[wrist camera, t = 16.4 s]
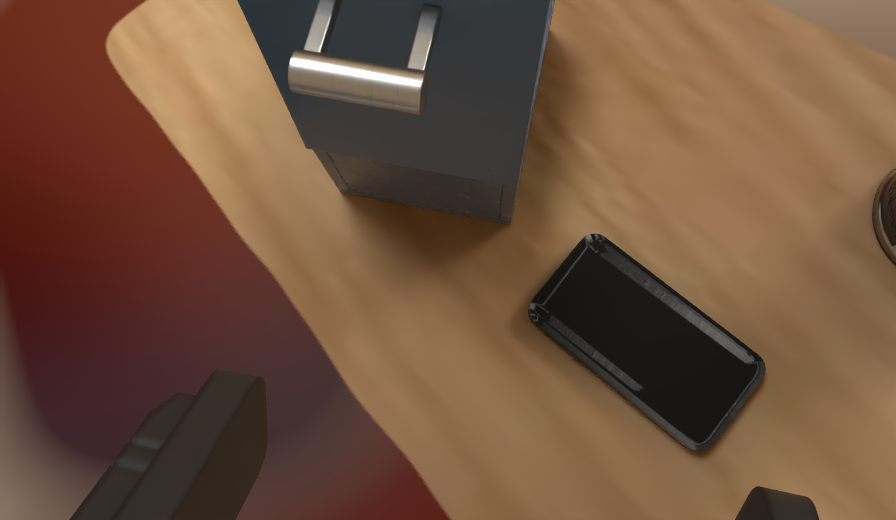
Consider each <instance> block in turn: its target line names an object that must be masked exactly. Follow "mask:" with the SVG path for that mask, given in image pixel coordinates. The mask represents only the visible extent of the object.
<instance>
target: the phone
mask: <svg viewBox="0 0 896 520" xmlns="http://www.w3.org/2000/svg"><path fill="white" fill-rule="evenodd" d="M528 314H529V317H530V320H531V321H532V322H533V323H534V325H536V326H537V327H538V328H539V329H541V330H542V331H543V332H544V333H545V334H547V335H548V336H549V337H550V338H552V339H553V340H554V341H555V342H557V344H558V345H560V346H561V347H562V348H563V349H565V350H566V351H567V352H569V353H570V354H571V355H572V356H573V357H574V358H575V359H577V360H578V361H579V362H580V363H582V364H584V365H585V366H586V367H587V368H589V369H590V370H591V371H592V372H594V373H595V374H596V375H597V376H599V377H600V378H601V379H602V380H603V381H605V382H606V383H607V384H608V385H610V386H611V387H612V388H613V389H615V390H616V391H617V392H618V393H619V394H621V395H622V396H623V397H624V398H626V399H627V400H628V401H629V402H631V403H632V404H633V405H634V406H635V407H637V408H638V409H639V410H640V411H642V412H643V413H644V414H645V415H647V416H648V417H649V418H650V419H651V420H653V421H654V422H655V423H656V424H658V425H659V426H660V427H661V428H663V429H664V430H665V431H666V432H668V433H669V434H670V435H671V436H672V437H674V438H675V439H676V440H677V441H679V442H680V443H681V444H682V445H684V446H685V447H687V448H689V449H693V450H698V451H703V450H707V449H709V448H710V447H711V446H713V445H714V443H715V442H716V441H717V439H718V438H719V437H720V435H721V434H722V433H723V431H724V430H725V429H726V427H727V426H728V425H729V423H730V422H731V421H732V419H733V418H734V417H735V415H736V414H737V413H738V411H739V410H740V409H741V407H742V406H743V405H744V403H745V402H746V401H747V399H748V398H749V397H750V395H751V394H752V393H753V391H754V390H755V389H756V387H757V386H758V385H759V383H760V382H761V381H762V379H763V377H764V375H765V370H766V368H765V363H764V361H763V360H762V358H761V357H760V356H759V355H758V354H757V353H755V352H754V351H753V350H752V349H750V348H749V347H748V346H746V345H745V344H744V343H742V342H741V341H740V340H739V339H737V338H736V337H735V336H733V335H732V334H731V333H729V332H728V331H727V330H726V329H724V328H723V327H722V326H720V325H719V324H718V323H716V322H715V321H714V320H712V319H711V318H710V317H709V316H707V315H706V314H705V313H703V312H702V311H701V310H699V309H698V308H697V307H696V306H694V305H693V304H692V303H690V302H689V301H688V300H686V299H685V298H684V297H683V296H681V295H680V294H679V293H677V292H676V291H675V290H673V289H672V288H671V287H670V286H668V285H667V284H666V283H664V282H663V281H662V280H660V279H659V278H658V277H656V276H655V275H654V274H653V273H651V272H650V271H649V270H647V269H646V268H645V267H643V266H642V265H641V264H640V263H638V262H637V261H636V260H634V259H633V258H632V257H630V256H629V255H628V254H627V253H625V252H624V251H623V250H621V249H620V248H619V247H617V246H616V245H615V244H614V243H612V242H611V241H610V240H608V239H607V238H606V237H604V236H602V235H600V234H589V235H587V236H585V237H584V238H583V239H582V240H581V241H580V242H579V243H578V245H577V246H576V247H575V248H574V249H573V251H572V252H571V253H570V254H569V256H568V257H567V258H566V259H565V260H564V262H563V263H562V264H561V265H560V267H559V268H558V269H557V270H556V271H555V273H554V274H553V275H552V276H551V277H550V279H549V280H548V281H547V282H546V284H545V285H544V286H543V287H542V288H541V290H540V291H539V292H538V293H537V295H536V296H535V297H534V298H533V300H532V301H531V303H530V305H529V309H528Z"/></svg>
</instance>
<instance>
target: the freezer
mask: <svg viewBox="0 0 896 520" xmlns="http://www.w3.org/2000/svg"><path fill="white" fill-rule="evenodd" d="M554 3H555V0H551V1H550V6H549V12H548V18H547V23H546V29H545V35H544V40H543V46H542V51H541V57H540V63H539V68H538V74H537V80H536V85H535V91H534V97H533V102H532V108H531V113H530V119H529V125H528V130H527V136H526V142H525V147H524V153H523V159H522V164H521V170H520V175H519V181H518V186H517V187H513V186H508V185H502V184H497V183H492V182H486V181H481V180H475V179H470V178H465V177H459V176H454V175H448V174H443V173H438V172H432V171H427V170H421V169H416V168H411V167H405V166H400V165H394V164H389V163H384V162H378V161H373V160H368V159H362V158H357V157H351V156H346V155H341V154H335V153H330V152H324V151H319V150H314V149H313V151H314V152H315V154H316V155H317V157H318V158H319V160H320V161H321V163H322V164H323V166H324V167H325V169H326V171H327V172H328V174H329V175H330V177H331V178H332V180H333V181H334V183H335V184H336V186H337V187H338V189H339V190H340V192H343V193H348V194H353V195H358V196H364V197H369V198H374V199H379V200H385V201H390V202H395V203H400V204H406V205H411V206H416V207H422V208H427V209H432V210H437V211H443V212H448V213H453V214H458V215H464V216H469V217H474V218H479V219H485V220H490V221H495V222H500V223H506V224H511V222H512V217H513V212H514V207H515V202H516V197H517V192H518V187H519V182H520V177H521V171H522V166H523V161H524V156H525V151H526V146H527V141H528V136H529V131H530V126H531V121H532V116H533V111H534V106H535V101H536V96H537V91H538V86H539V80H540V75H541V70H542V65H543V60H544V55H545V50H546V45H547V40H548V35H549V30H550V25H551V19H552V14H553V8H554Z"/></svg>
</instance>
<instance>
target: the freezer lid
mask: <svg viewBox="0 0 896 520" xmlns="http://www.w3.org/2000/svg"><path fill="white" fill-rule="evenodd" d="M550 1H551V0H238V3H239V5H240V7H241V9H242V11H243V13H244V15H245V18H246V20H247V22H248V24H249V26H250V28H251V30H252V33H253V35H254V37H255V39H256V41H257V43H258V46H259V48H260V50H261V52H262V54H263V56H264V58H265V61H266V63H267V65H268V67H269V69H270V71H271V73H272V76H273V78H274V80H275V82H276V84H277V86H278V89H279V91H280V93H281V95H282V97H283V99H284V101H285V104H286V106H287V108H288V110H289V112H290V114H291V116H292V119H293V121H294V123H295V125H296V127H297V129H298V131H299V134H300V136H301V138H302V140H303V142H304V144H305V147H306V148H308V149H314V150H319V151H324V152H330V153H335V154H341V155H346V156H351V157H357V158H362V159H368V160H373V161H378V162H384V163H389V164H394V165H400V166H405V167H411V168H416V169H421V170H427V171H432V172H438V173H443V174H448V175H454V176H459V177H465V178H470V179H475V180H481V181H486V182H492V183H497V184H502V185H508V186H513V187H517V186H518V181H519V175H520V170H521V164H522V159H523V153H524V147H525V142H526V136H527V130H528V125H529V119H530V113H531V108H532V102H533V97H534V91H535V85H536V80H537V74H538V68H539V63H540V57H541V51H542V46H543V40H544V35H545V29H546V23H547V18H548V12H549V6H550Z"/></svg>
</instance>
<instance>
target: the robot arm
mask: <svg viewBox="0 0 896 520" xmlns="http://www.w3.org/2000/svg"><path fill="white" fill-rule="evenodd" d="M873 221H874V227H875V231H876V234H877V237H878V239H879V241H880V243H881V245H882V247H883V248H884V250H885V251H886V253H887V254H888V255H889V257H890V258H891V259H892V260H893V261H894V262H895V263H896V168H895V169H894V170H893V171H891V172H890V173H889V174H888V175H887V176H886V178H885V179H884V180H883V182H882V183H881V185H880V186H879V188H878V191H877V193H876V196H875V199H874V204H873ZM267 438H268V437H267V415H266V393H265V382H264V379H263V378H262V377H258V376H254V375H250V374H245V373H240V372H235V371H231V370H226V369H221V368H218V369H216V370H215V371H214V372H213V373H212V374H211V375H210V376H209V378H208V379H207V381H206V382H205V384H204V385H203V387H202V388H201V389H200V391H199V392H198V394H197V395H196V396H193V395H188V394H183V393H177V394H176V395H174V396H173V397H171V398H170V399H169V400H167V401H166V402H164V403H163V404H161V405H160V406H158V407H157V408H156V409H154V410H153V411H151V412H150V413H149V414H148V416H147V417H146V419H145V420H144V421H143V422H142V424H141V425H140V426H139V428H138V429H137V430H136V432H135V433H134V435H133V436H132V437H131V438H130V442H129V444H126V445H125V446H124V448H123V449H122V450H121V452H120V453H119V454H118V456H117V457H116V458H115V460H114V464H113V466H110V467H109V468H108V469H107V470H106V472H105V473H104V474H103V476H102V477H101V478H100V480H99V481H98V482H97V484H96V485H95V487H94V488H93V489H92V491H91V492H90V493H89V494H88V496H87V497H86V498H85V500H84V501H83V502H82V504H81V505H80V506H79V508H78V509H77V510H76V512H75V513H74V515H73V516H72V517H71V519H70V520H236V518H237V516H238V514H239V512H240V510H241V508H242V506H243V504H244V502H245V500H246V498H247V496H248V494H249V492H250V490H251V488H252V487H253V485H254V483H255V481H256V479H257V476H258V475H259V472H260V470H261V467H262V464H263V461H264V458H265V454H266V449H267V440H268V439H267ZM735 520H819V517H818V514H817V511H816V508H815V506H814V504H813V502H812V501H811V500H810V499H809V498H808V497H805V496H800V495H796V494H791V493H787V492H782V491H777V490H773V489H768V488H764V487H759V486H758V487H755V488H753V490H752V491H751V492H750V494H749V495H748V497H747V499H746V501H745V503H744V504H743V506H742V508H741V510H740V512H739V513H738V515H737V517H736V519H735Z"/></svg>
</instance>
